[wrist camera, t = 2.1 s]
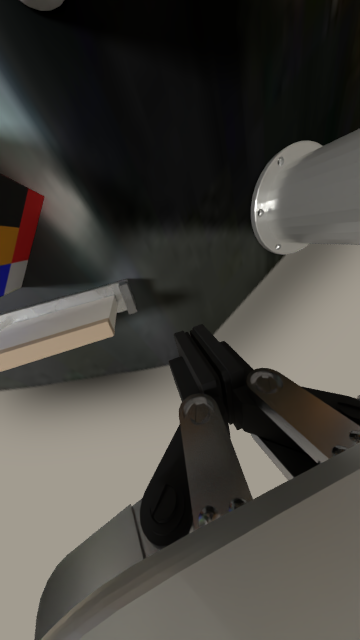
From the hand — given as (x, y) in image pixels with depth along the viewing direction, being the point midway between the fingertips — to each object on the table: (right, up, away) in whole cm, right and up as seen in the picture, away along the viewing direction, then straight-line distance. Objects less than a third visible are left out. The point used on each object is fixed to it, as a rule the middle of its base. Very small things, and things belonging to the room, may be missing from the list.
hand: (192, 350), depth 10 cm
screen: (-14, +2, +11) cm, 18 cm away
